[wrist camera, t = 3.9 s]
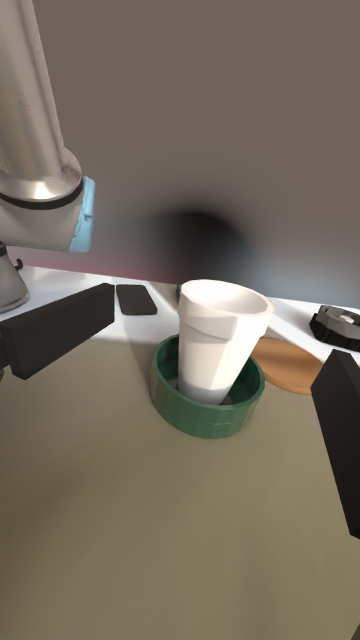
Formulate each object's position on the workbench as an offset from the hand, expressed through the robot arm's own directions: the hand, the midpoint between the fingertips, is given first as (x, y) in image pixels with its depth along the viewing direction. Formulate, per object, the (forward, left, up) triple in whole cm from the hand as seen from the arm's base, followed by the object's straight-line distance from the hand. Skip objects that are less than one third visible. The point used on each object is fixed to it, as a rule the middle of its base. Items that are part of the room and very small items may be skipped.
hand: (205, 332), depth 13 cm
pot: (-8, +5, -14) cm, 17 cm away
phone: (-35, -4, -14) cm, 38 cm away
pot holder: (-13, +21, -14) cm, 28 cm away
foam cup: (-8, +5, -14) cm, 17 cm away
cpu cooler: (-22, +40, -14) cm, 48 cm away
